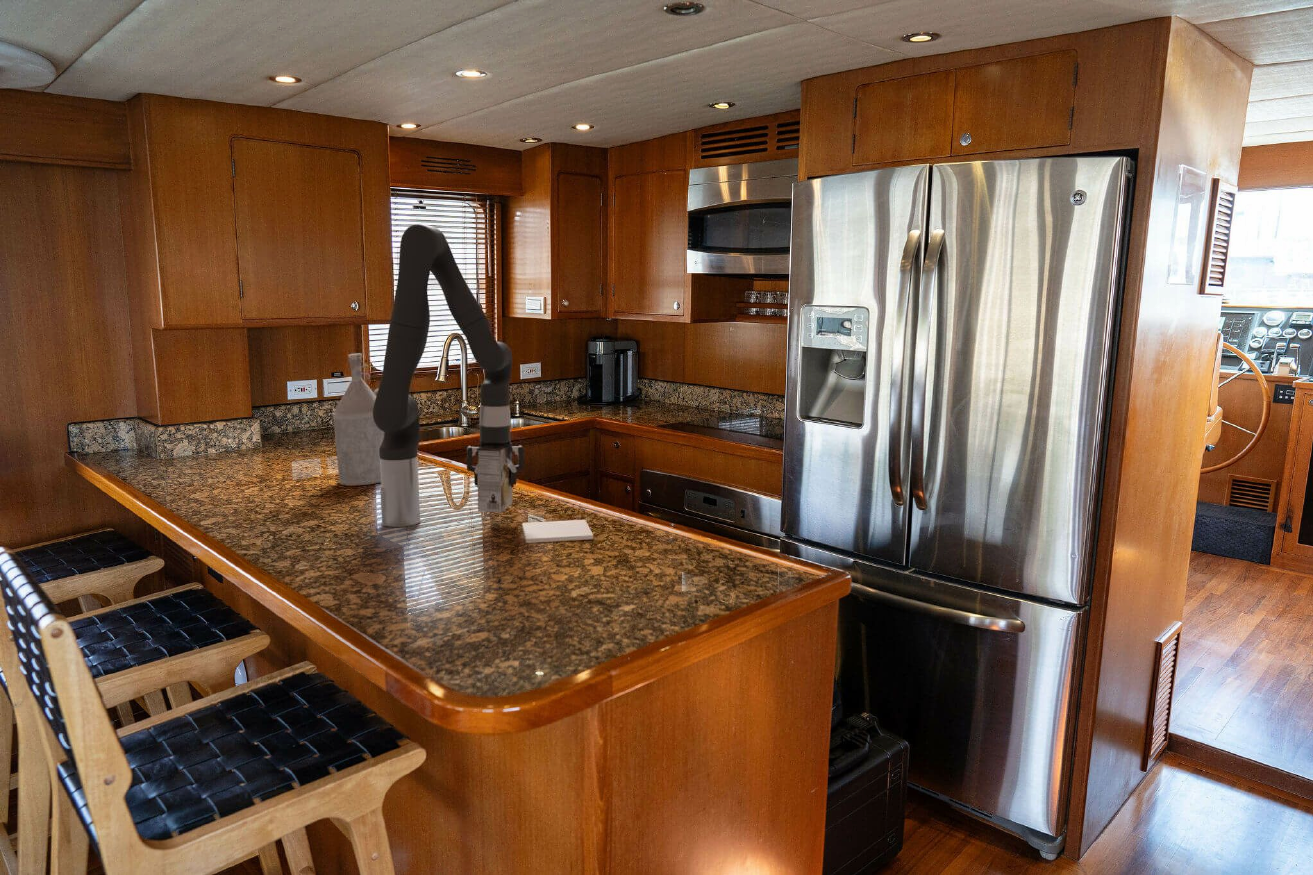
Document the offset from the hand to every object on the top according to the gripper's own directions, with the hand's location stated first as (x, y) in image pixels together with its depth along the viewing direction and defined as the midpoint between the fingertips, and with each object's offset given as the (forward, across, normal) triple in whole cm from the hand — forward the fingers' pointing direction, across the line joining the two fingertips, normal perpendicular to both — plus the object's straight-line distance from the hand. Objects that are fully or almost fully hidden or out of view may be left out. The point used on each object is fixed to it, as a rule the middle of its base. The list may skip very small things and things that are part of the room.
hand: (495, 486), depth 216 cm
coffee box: (+6, 0, 0) cm, 6 cm away
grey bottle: (+12, -38, +59) cm, 71 cm away
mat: (+10, +15, -9) cm, 20 cm away
